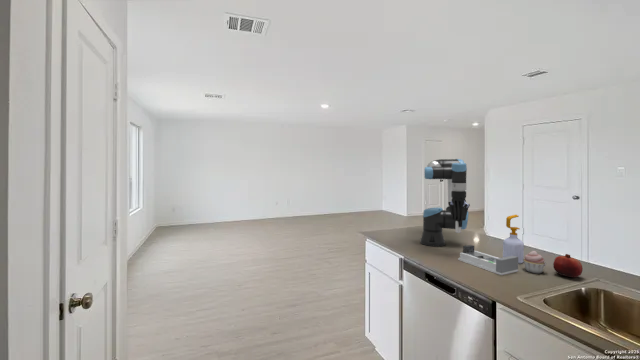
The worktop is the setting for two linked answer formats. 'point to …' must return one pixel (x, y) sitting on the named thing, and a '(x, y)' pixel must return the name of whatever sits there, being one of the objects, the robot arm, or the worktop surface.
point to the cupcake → (534, 262)
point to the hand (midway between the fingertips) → (458, 232)
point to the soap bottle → (513, 243)
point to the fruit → (567, 266)
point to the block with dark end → (476, 253)
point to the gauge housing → (492, 263)
